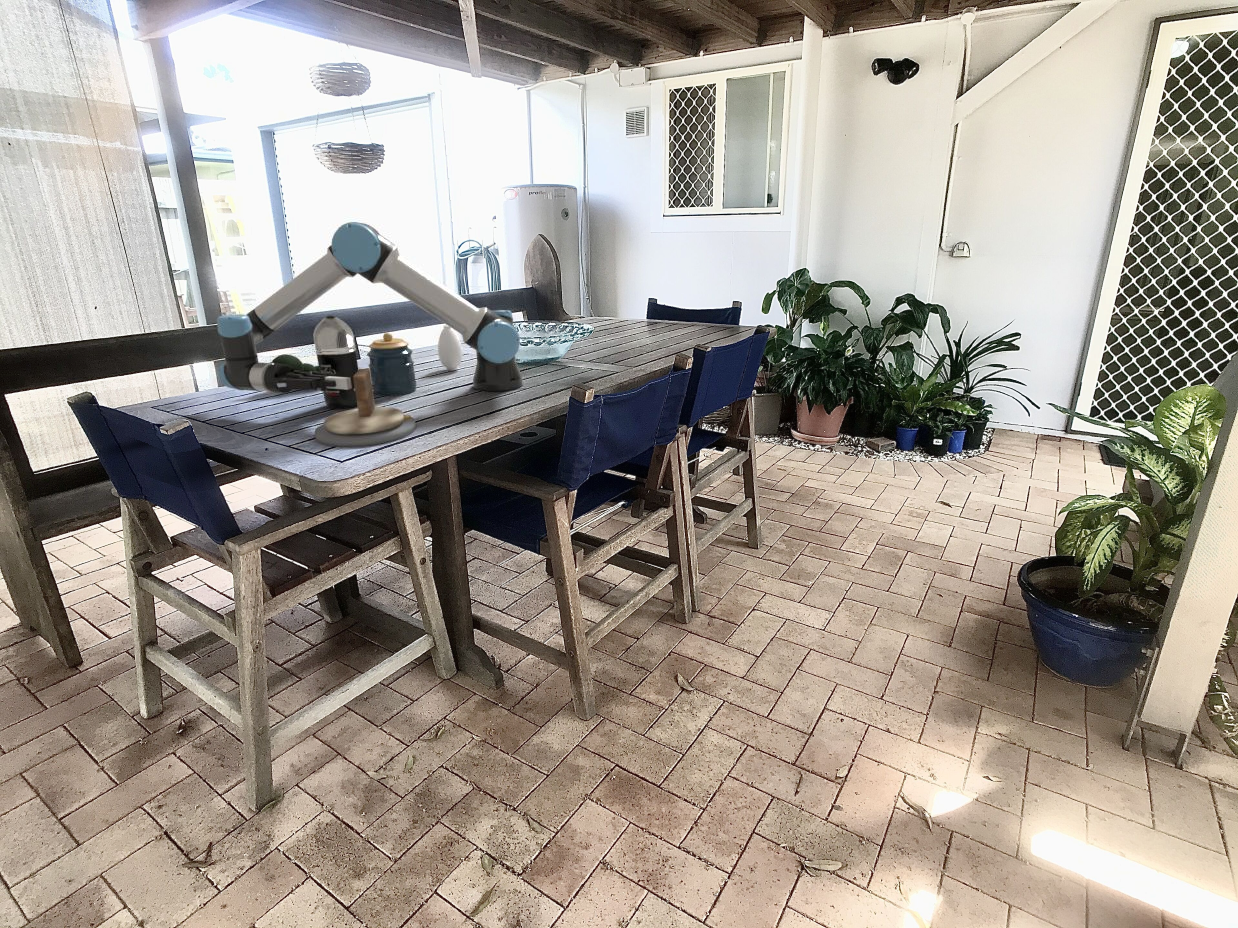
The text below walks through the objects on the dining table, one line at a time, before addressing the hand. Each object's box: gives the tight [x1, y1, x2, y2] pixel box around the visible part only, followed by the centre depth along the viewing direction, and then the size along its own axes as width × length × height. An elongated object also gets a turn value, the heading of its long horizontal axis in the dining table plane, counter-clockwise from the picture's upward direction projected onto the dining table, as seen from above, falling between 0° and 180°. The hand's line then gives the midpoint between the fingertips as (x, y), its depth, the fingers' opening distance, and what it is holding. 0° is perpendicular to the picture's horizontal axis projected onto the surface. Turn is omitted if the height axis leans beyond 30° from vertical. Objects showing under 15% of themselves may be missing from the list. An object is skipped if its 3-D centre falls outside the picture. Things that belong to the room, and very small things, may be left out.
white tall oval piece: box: [437, 324, 463, 372], centre depth 221 cm, size 8×8×18 cm
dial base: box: [314, 414, 417, 448], centre depth 157 cm, size 23×23×2 cm
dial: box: [323, 368, 405, 434], centre depth 155 cm, size 18×18×12 cm
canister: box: [366, 332, 417, 396], centre depth 194 cm, size 13×13×18 cm
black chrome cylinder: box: [312, 314, 359, 410], centre depth 177 cm, size 10×10×25 cm
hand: (348, 383), depth 161 cm, fingers closed
